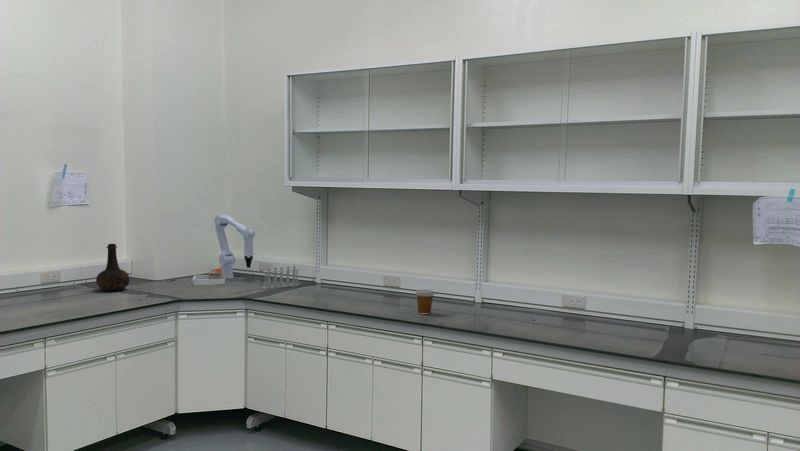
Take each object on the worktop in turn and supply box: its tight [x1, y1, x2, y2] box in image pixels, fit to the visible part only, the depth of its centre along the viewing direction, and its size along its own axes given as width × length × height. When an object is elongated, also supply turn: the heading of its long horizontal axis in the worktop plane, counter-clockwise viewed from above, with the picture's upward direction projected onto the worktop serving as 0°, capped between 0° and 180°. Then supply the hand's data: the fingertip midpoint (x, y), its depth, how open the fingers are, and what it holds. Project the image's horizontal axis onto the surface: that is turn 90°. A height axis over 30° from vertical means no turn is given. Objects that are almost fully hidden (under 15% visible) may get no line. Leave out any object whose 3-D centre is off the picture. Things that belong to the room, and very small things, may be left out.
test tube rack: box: [261, 265, 301, 290], centre depth 375 cm, size 25×4×13 cm, turn 128°
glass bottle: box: [95, 243, 131, 292], centre depth 349 cm, size 18×18×28 cm
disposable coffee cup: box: [415, 289, 435, 314], centre depth 307 cm, size 10×10×12 cm
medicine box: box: [208, 268, 222, 279], centre depth 386 cm, size 15×8×8 cm, turn 19°
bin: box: [191, 274, 226, 286], centre depth 385 cm, size 18×20×4 cm
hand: (248, 266), depth 396 cm, fingers open, 7 cm apart
